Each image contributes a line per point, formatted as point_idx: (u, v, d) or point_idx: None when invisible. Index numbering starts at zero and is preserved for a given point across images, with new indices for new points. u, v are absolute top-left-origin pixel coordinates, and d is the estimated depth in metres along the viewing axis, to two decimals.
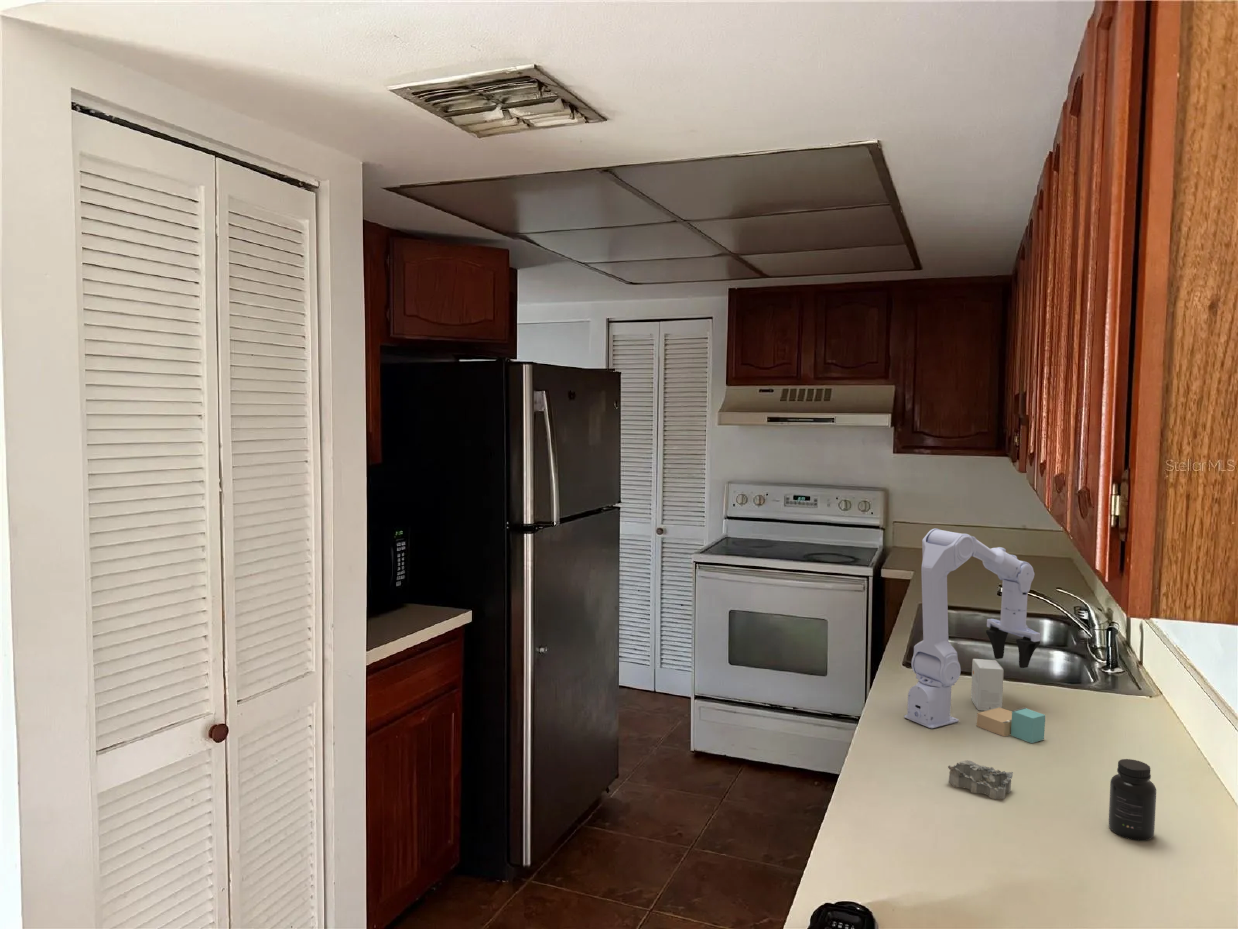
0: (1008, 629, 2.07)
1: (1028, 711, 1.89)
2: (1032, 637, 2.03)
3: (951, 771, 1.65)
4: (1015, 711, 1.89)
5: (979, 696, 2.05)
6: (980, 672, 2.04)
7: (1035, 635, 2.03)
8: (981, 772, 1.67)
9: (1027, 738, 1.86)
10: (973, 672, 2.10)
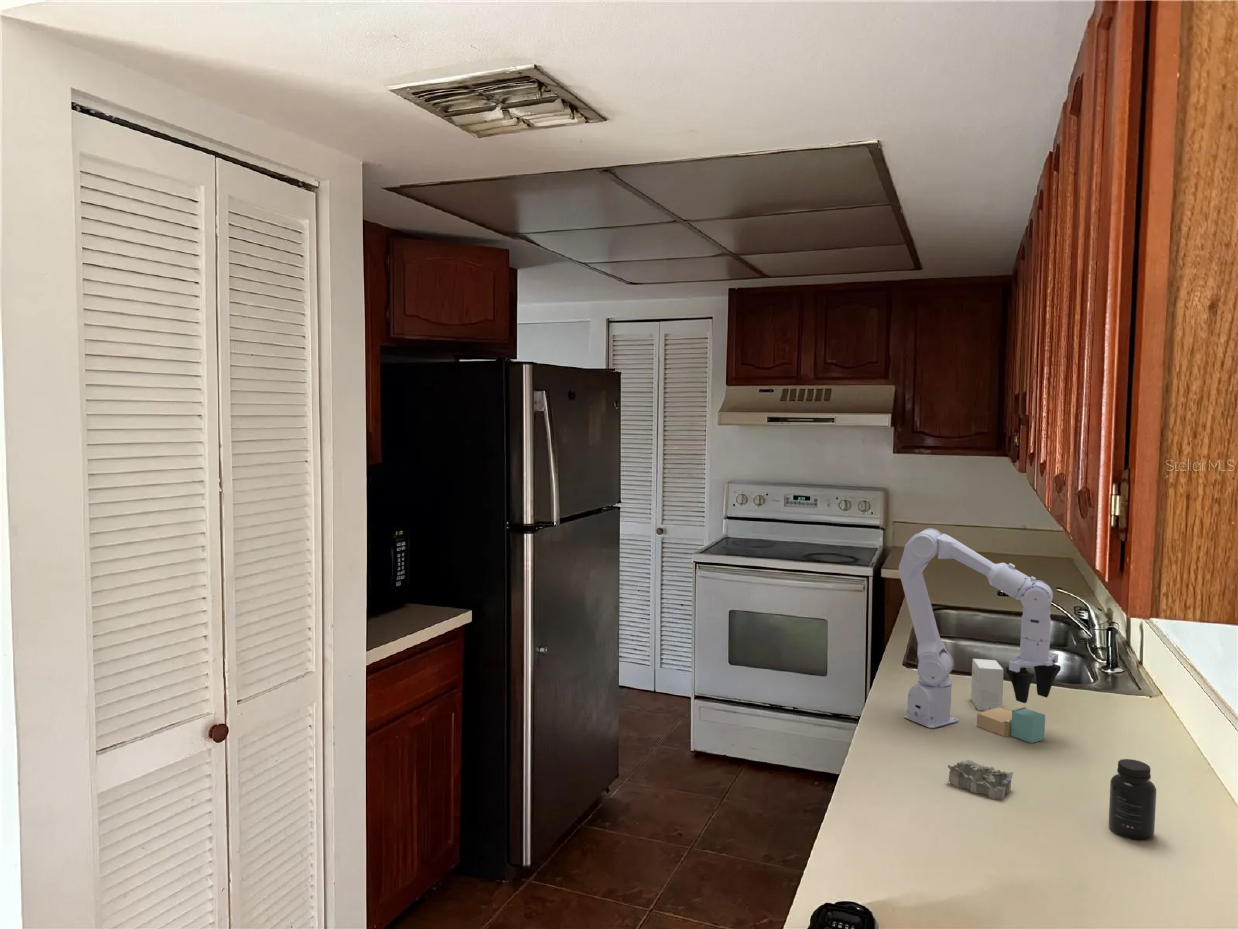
0: (1018, 656, 1.89)
1: (1028, 711, 1.89)
2: None
3: (951, 770, 1.65)
4: (1015, 711, 1.89)
5: (979, 696, 2.05)
6: (980, 672, 2.04)
7: (1010, 663, 1.84)
8: (982, 772, 1.67)
9: (1027, 738, 1.86)
10: (973, 672, 2.10)
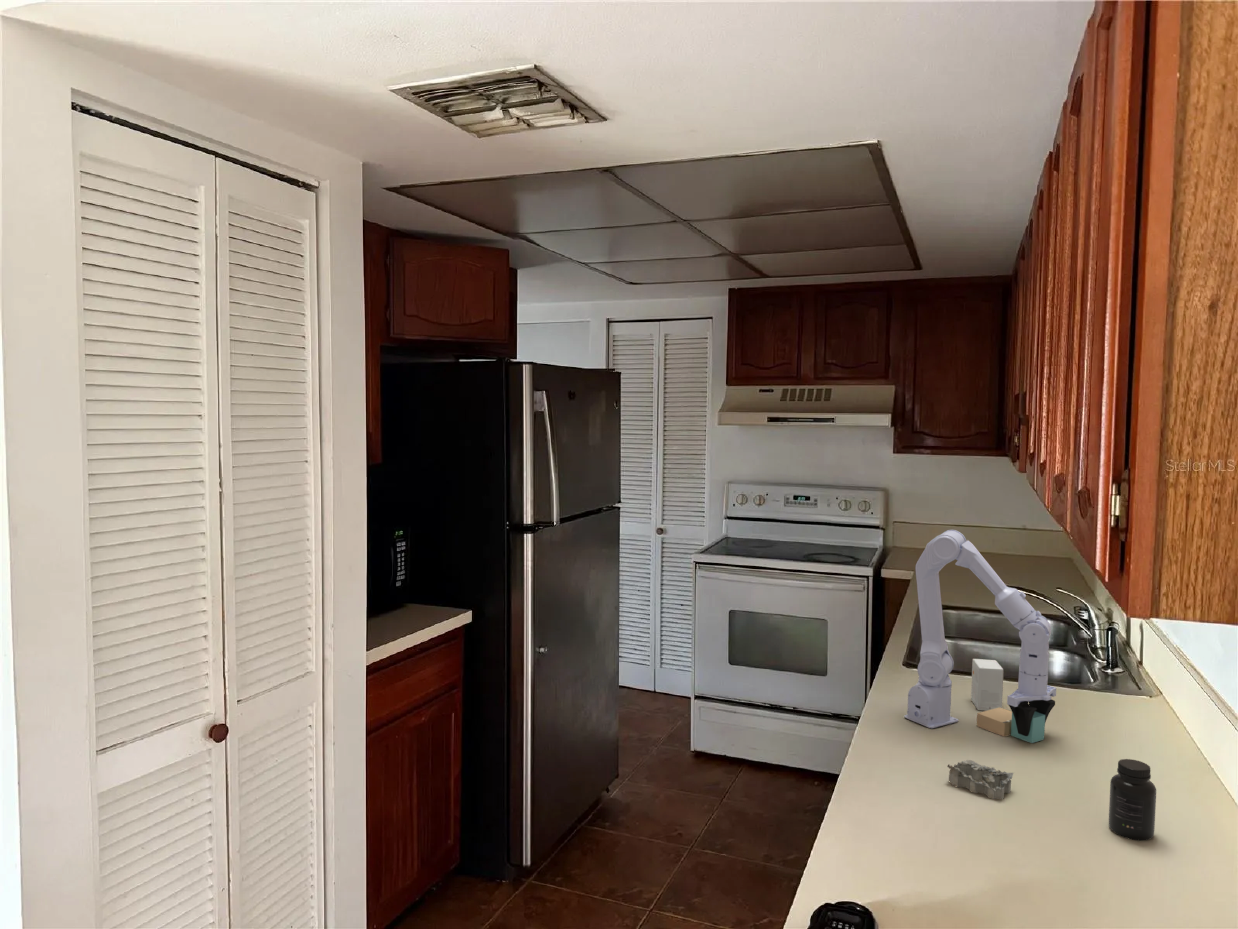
0: (1017, 690, 1.89)
1: None
2: None
3: (951, 770, 1.66)
4: None
5: (979, 696, 2.05)
6: (980, 672, 2.04)
7: (1008, 697, 1.84)
8: (982, 772, 1.67)
9: (1027, 738, 1.86)
10: (973, 672, 2.10)
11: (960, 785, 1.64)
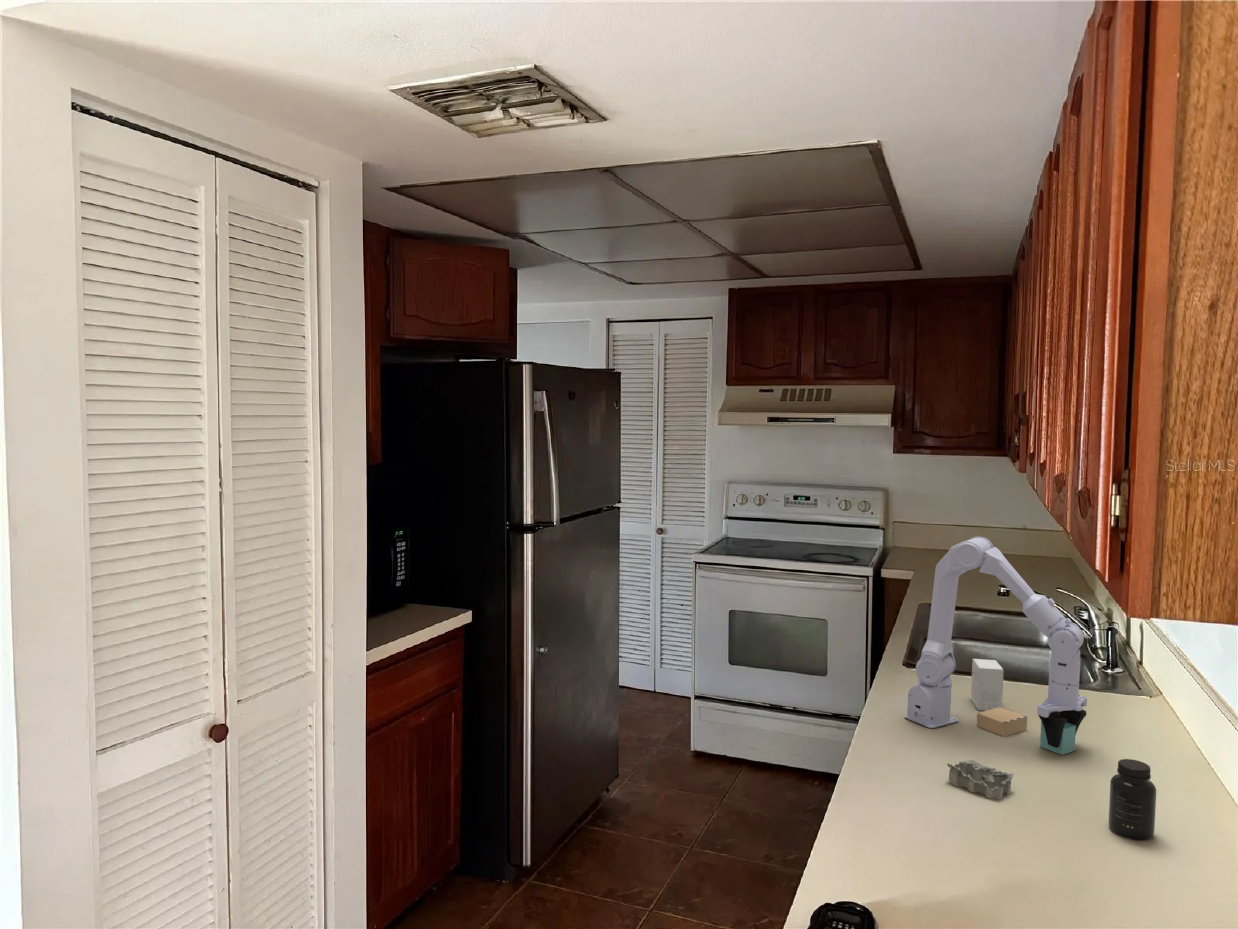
0: None
1: None
2: None
3: (951, 769, 1.66)
4: None
5: (979, 696, 2.05)
6: (980, 672, 2.04)
7: (1038, 708, 1.78)
8: (983, 772, 1.66)
9: (1057, 749, 1.80)
10: (973, 672, 2.10)
11: (959, 784, 1.64)
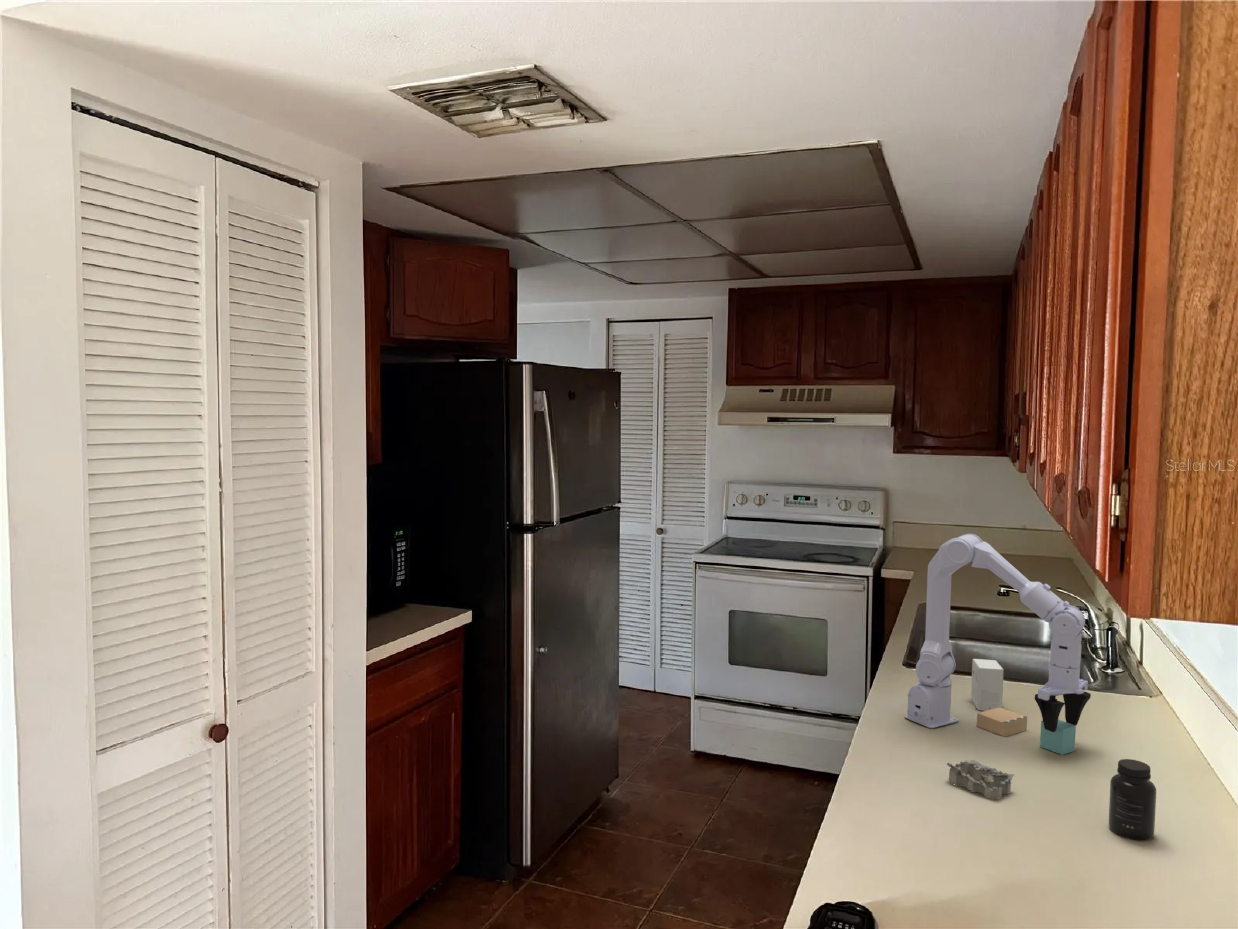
0: (1047, 683, 1.83)
1: (1058, 721, 1.83)
2: None
3: (951, 768, 1.66)
4: None
5: (979, 696, 2.05)
6: (980, 672, 2.04)
7: (1039, 691, 1.78)
8: (984, 772, 1.66)
9: (1057, 749, 1.80)
10: (973, 672, 2.10)
11: (959, 784, 1.64)
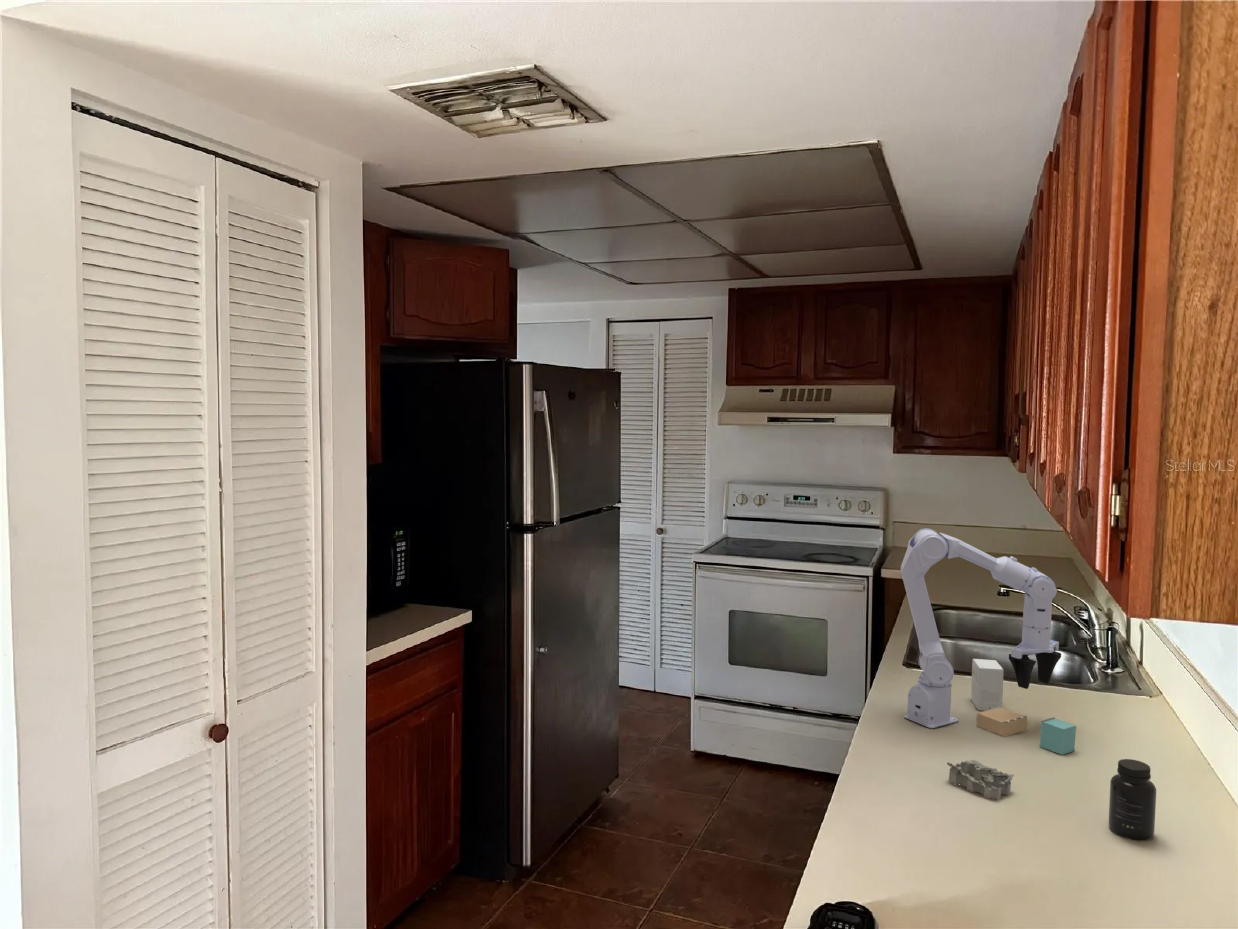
0: None
1: (1058, 721, 1.83)
2: None
3: (951, 768, 1.66)
4: (1045, 722, 1.83)
5: (979, 696, 2.05)
6: (980, 672, 2.04)
7: (1012, 650, 1.90)
8: (985, 772, 1.66)
9: (1057, 749, 1.80)
10: (973, 672, 2.10)
11: (959, 783, 1.65)
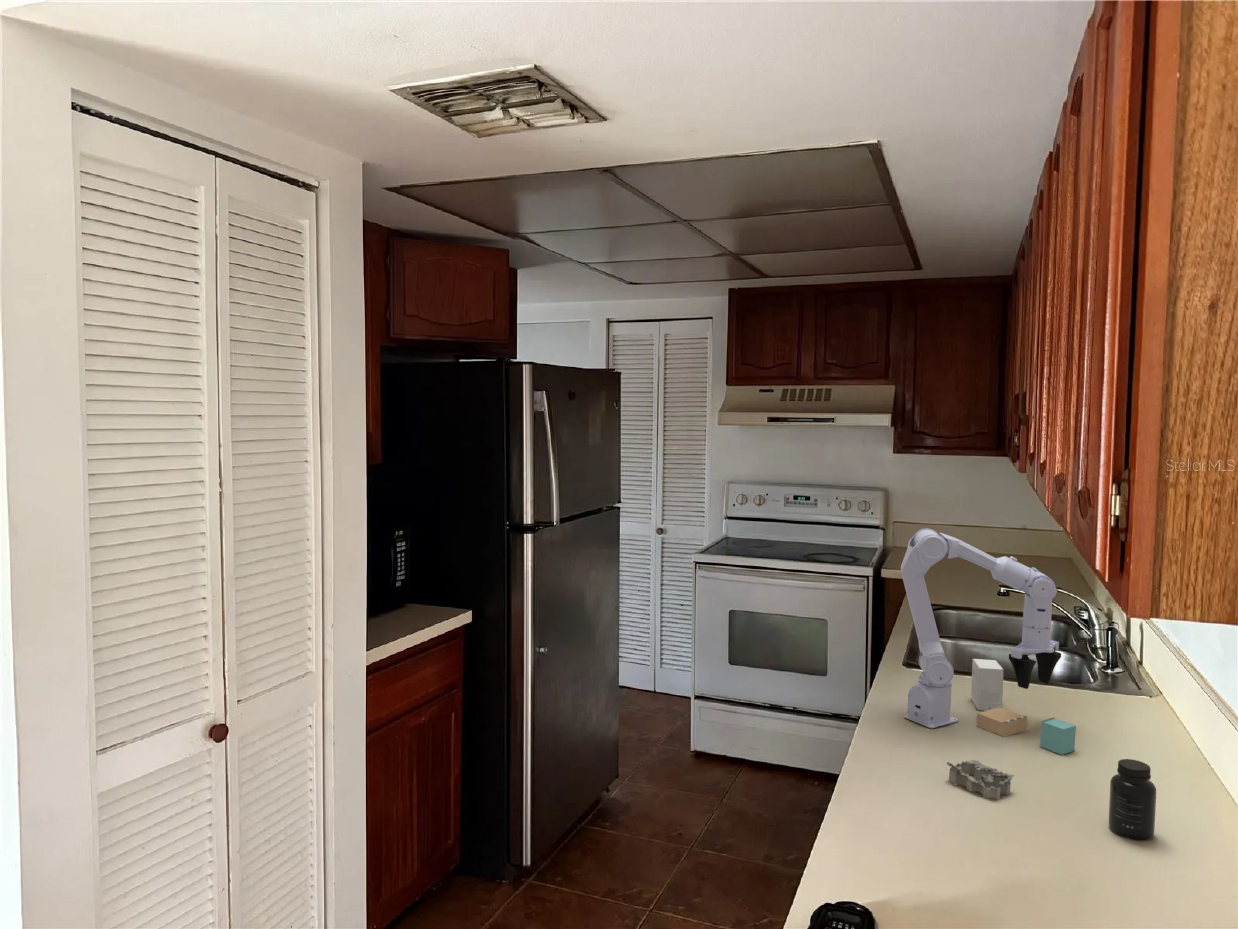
0: None
1: (1058, 721, 1.83)
2: None
3: (951, 768, 1.67)
4: (1045, 722, 1.83)
5: (979, 696, 2.05)
6: (980, 672, 2.04)
7: (1012, 650, 1.90)
8: (985, 772, 1.66)
9: (1057, 749, 1.80)
10: (973, 672, 2.10)
11: (959, 783, 1.65)
